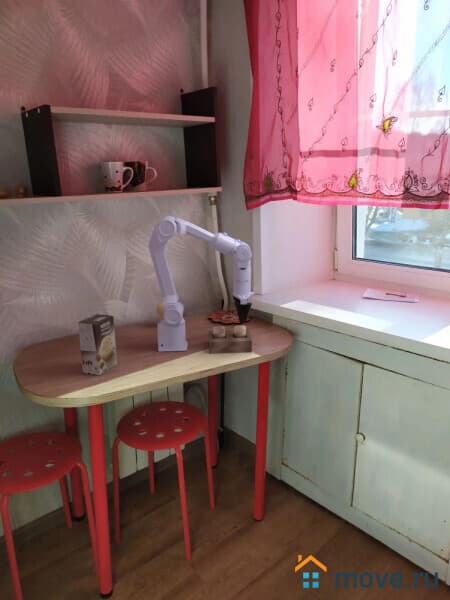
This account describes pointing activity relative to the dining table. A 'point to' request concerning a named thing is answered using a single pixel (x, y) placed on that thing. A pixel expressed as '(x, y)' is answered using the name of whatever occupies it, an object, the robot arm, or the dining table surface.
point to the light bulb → (160, 311)
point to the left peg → (218, 332)
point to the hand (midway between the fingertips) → (241, 319)
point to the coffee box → (97, 344)
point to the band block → (230, 343)
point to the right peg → (239, 331)
